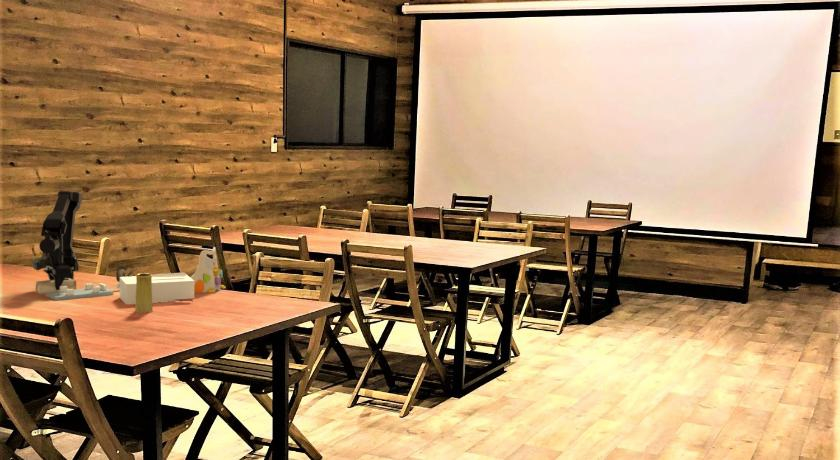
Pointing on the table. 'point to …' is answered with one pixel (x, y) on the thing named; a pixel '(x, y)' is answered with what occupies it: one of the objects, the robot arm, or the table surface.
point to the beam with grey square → (53, 285)
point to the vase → (143, 293)
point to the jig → (80, 292)
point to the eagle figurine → (121, 274)
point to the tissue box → (159, 288)
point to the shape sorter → (207, 273)
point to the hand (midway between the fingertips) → (55, 288)
